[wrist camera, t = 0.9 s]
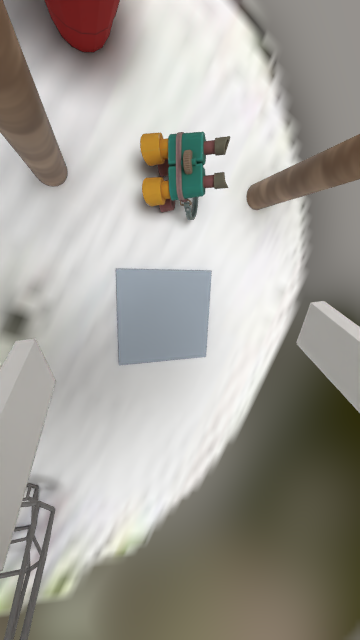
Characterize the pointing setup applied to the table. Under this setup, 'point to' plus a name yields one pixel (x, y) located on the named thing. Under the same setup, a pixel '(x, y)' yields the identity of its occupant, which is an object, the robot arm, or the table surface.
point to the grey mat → (162, 314)
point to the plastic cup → (83, 21)
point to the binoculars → (180, 169)
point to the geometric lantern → (28, 567)
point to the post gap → (49, 167)
